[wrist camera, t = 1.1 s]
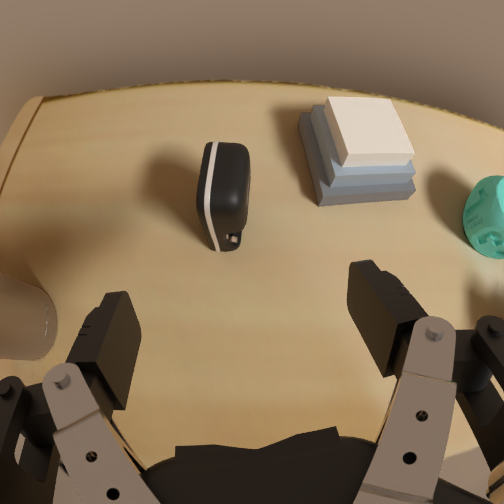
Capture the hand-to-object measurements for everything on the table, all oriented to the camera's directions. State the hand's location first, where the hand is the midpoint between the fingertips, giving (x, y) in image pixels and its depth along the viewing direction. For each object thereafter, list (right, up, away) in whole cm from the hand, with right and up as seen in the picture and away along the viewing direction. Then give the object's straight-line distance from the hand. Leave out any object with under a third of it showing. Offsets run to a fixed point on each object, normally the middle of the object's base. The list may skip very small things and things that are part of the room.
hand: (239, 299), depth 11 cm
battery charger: (-2, +5, +24) cm, 24 cm away
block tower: (+13, +13, +26) cm, 32 cm away
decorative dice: (+32, +5, +24) cm, 41 cm away
